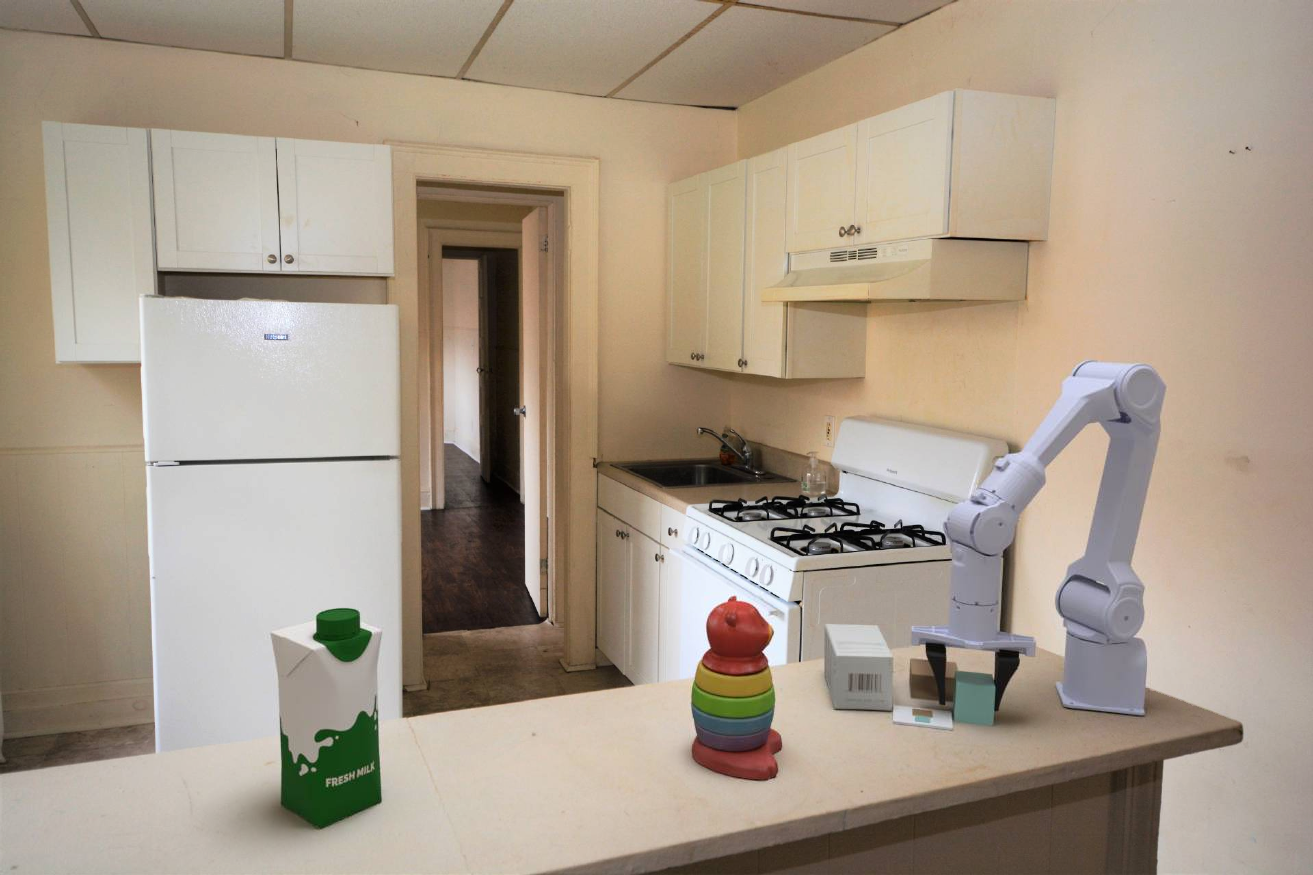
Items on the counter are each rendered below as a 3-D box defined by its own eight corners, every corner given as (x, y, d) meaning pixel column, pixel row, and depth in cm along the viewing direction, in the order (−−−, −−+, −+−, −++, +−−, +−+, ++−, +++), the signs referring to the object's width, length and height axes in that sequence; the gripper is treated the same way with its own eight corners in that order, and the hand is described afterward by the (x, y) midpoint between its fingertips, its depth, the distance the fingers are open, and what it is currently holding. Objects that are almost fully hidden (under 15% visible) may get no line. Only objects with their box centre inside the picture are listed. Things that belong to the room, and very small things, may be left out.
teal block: (989, 712, 119) (992, 674, 119) (993, 726, 115) (995, 687, 114) (952, 707, 120) (954, 670, 120) (954, 722, 116) (956, 683, 116)
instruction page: (951, 713, 118) (951, 710, 118) (952, 730, 114) (952, 727, 113) (893, 707, 120) (893, 704, 120) (892, 723, 115) (892, 720, 115)
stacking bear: (776, 782, 100) (781, 620, 98) (682, 772, 102) (685, 613, 100) (783, 739, 111) (788, 591, 108) (698, 730, 113) (700, 585, 110)
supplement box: (892, 712, 118) (877, 674, 131) (894, 655, 118) (878, 623, 130) (833, 711, 119) (823, 673, 132) (834, 654, 118) (824, 622, 131)
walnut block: (954, 687, 128) (956, 662, 127) (958, 704, 122) (959, 678, 122) (909, 682, 129) (910, 658, 129) (910, 699, 123) (911, 673, 123)
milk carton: (316, 836, 88) (309, 630, 86) (266, 804, 94) (259, 610, 92) (395, 801, 95) (391, 608, 93) (344, 773, 101) (339, 591, 98)
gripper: (913, 602, 114) (908, 710, 116) (1041, 613, 110) (1034, 724, 112) (913, 587, 121) (908, 689, 122) (1034, 597, 117) (1027, 702, 119)
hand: (968, 704), depth 118 cm, fingers open, 6 cm apart
